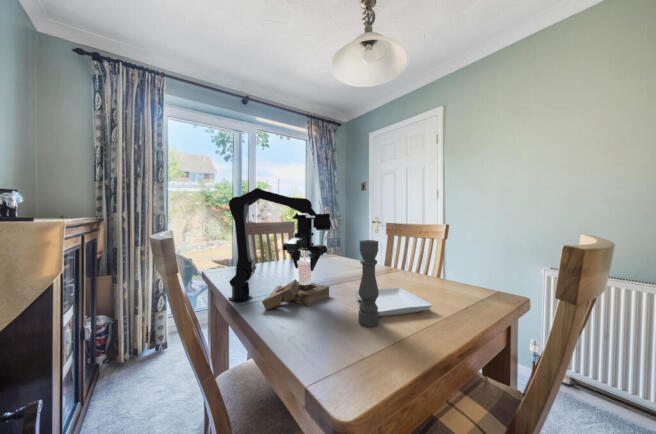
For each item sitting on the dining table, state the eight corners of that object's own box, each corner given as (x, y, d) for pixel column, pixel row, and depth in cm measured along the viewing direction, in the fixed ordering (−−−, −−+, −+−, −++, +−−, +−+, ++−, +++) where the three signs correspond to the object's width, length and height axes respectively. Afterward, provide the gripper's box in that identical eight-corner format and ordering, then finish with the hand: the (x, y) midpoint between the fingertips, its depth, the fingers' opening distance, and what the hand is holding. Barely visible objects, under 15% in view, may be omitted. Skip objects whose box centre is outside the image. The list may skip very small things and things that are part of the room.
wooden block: (290, 288, 84) (297, 276, 102) (261, 301, 84) (273, 287, 102) (294, 298, 84) (301, 284, 102) (265, 311, 84) (277, 295, 102)
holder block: (278, 298, 97) (278, 288, 97) (301, 289, 107) (301, 280, 107) (308, 306, 88) (308, 295, 88) (329, 296, 99) (329, 286, 99)
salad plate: (351, 299, 97) (351, 290, 97) (399, 294, 102) (399, 286, 102) (375, 322, 76) (375, 311, 76) (434, 315, 82) (434, 304, 81)
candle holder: (380, 320, 77) (380, 240, 76) (377, 328, 71) (377, 242, 71) (360, 317, 79) (360, 239, 79) (356, 325, 73) (356, 241, 73)
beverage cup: (309, 280, 102) (309, 246, 101) (314, 284, 96) (314, 248, 96) (295, 282, 100) (294, 247, 99) (299, 286, 94) (299, 250, 93)
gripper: (272, 230, 96) (272, 270, 96) (309, 232, 85) (309, 277, 86) (292, 229, 105) (292, 265, 106) (328, 231, 95) (327, 271, 95)
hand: (304, 269), depth 98 cm, fingers closed on beverage cup, 7 cm apart
